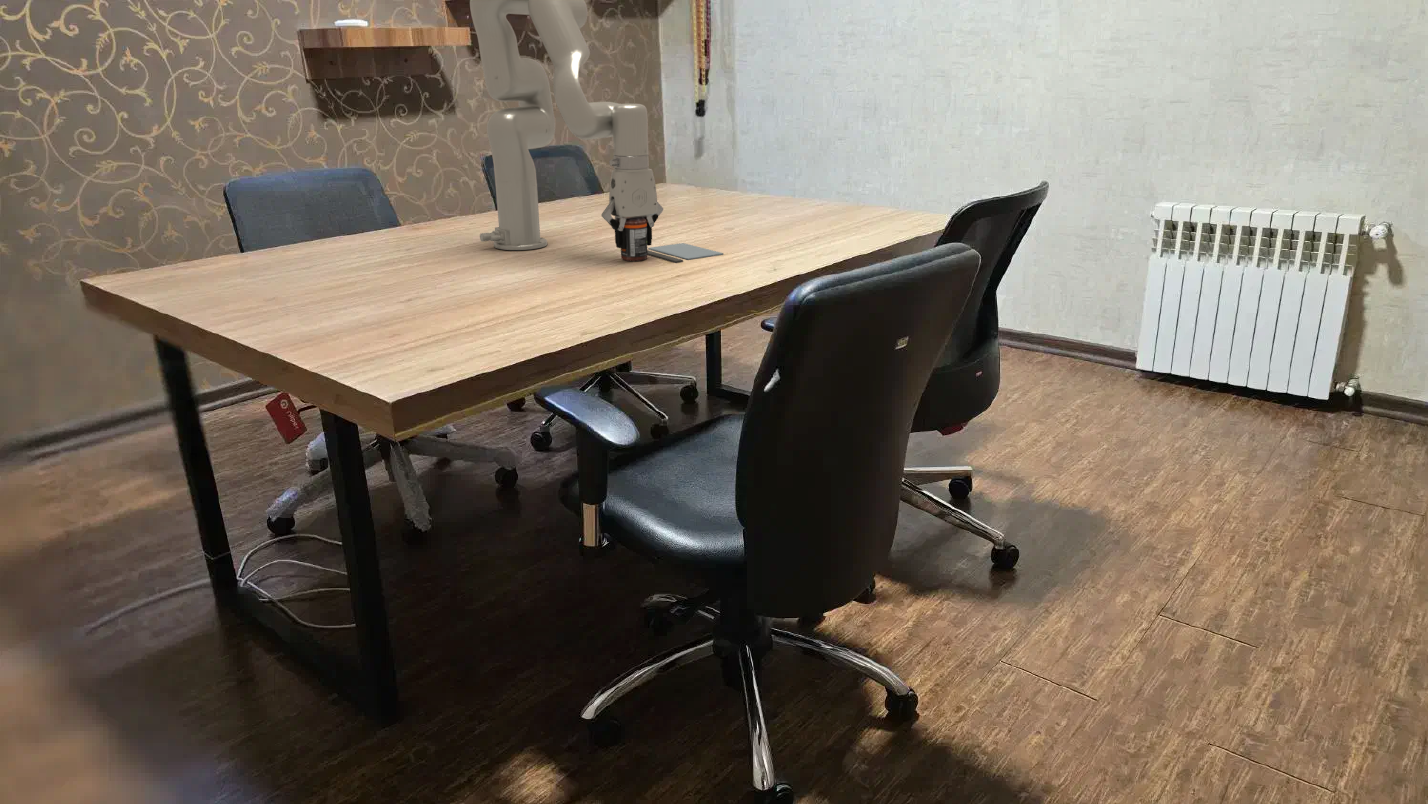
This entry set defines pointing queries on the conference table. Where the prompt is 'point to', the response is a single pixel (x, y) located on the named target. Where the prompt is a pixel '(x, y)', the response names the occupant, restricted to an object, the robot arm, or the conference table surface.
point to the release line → (664, 257)
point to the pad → (685, 251)
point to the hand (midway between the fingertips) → (633, 245)
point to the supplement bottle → (635, 239)
